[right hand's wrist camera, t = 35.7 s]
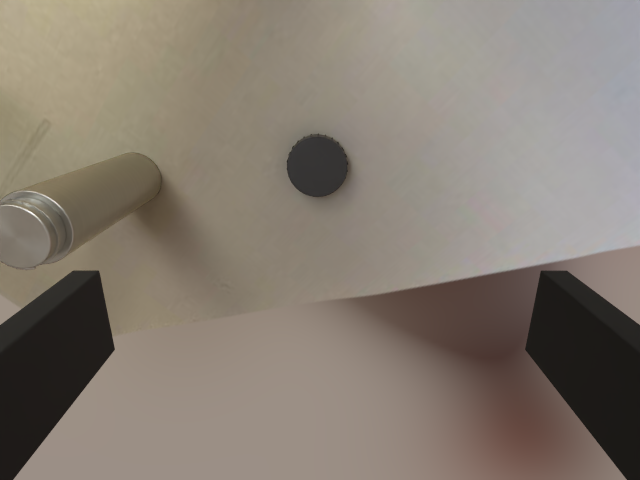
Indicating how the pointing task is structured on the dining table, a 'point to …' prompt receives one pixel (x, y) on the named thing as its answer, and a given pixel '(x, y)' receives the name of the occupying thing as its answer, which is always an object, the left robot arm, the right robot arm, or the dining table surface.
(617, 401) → the right robot arm
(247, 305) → the dining table surface
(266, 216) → the dining table surface
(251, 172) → the dining table surface
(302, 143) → the lid
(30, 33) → the dining table surface
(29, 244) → the silver metal cylinder
